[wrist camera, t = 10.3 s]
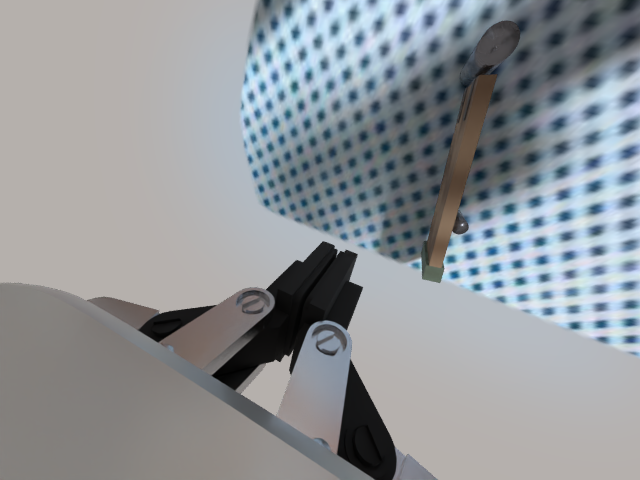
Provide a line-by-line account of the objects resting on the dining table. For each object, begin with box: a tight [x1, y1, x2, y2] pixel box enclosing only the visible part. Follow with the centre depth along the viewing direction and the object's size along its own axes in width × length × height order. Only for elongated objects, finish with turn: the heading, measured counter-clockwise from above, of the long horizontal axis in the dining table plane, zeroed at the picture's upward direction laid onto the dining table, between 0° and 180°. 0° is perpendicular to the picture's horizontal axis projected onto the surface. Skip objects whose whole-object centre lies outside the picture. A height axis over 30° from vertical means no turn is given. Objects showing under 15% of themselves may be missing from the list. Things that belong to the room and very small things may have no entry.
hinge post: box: [460, 21, 520, 87], centre depth 20 cm, size 2×2×8 cm
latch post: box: [452, 210, 469, 234], centre depth 27 cm, size 2×2×5 cm
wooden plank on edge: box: [421, 74, 498, 283], centre depth 24 cm, size 19×2×7 cm, turn 179°
